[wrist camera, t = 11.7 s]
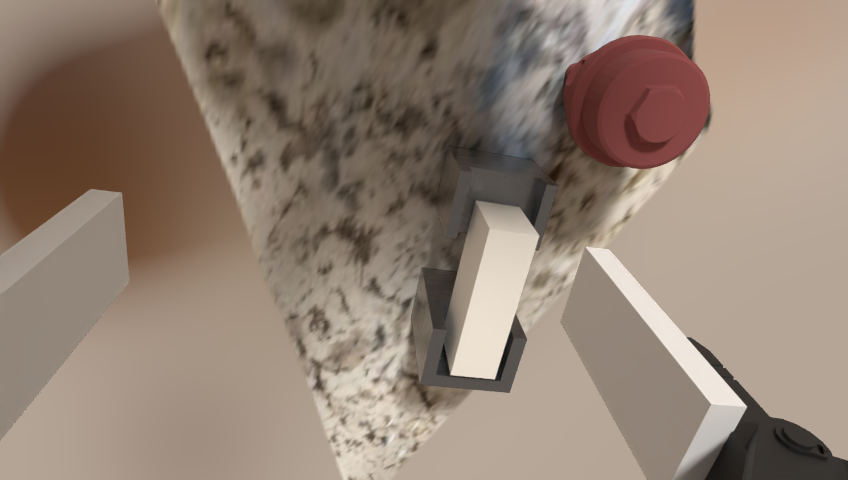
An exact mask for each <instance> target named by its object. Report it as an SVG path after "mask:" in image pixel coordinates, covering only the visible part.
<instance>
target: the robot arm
mask: <svg viewBox="0 0 848 480" xmlns="http://www.w3.org/2000/svg"><path fill="white" fill-rule="evenodd" d="M128 283H129V272H128V261H127V249H126V237H125V225H124V214H123V202H122V193H120V192H111V191H102V190H93V189H90V190H89V191H88V192H86V193H85V194H83V195H82V196H81V197H79V198H78V199H77V200H75V201H74V202H73V203H71V204H70V205H69V206H67V207H66V208H64V209H63V210H62V211H60V212H59V213H58V214H56V215H55V216H54V217H52V218H51V219H49V220H48V221H47V222H45V223H44V224H43V225H41V226H40V227H39V228H37V229H36V230H35V231H33V232H32V233H30V234H29V235H28V236H26V237H25V238H24V239H22V240H21V241H19V242H18V243H17V244H16V245H14V246H13V247H11V248H10V249H9V250H7V251H6V252H5V253H3V254H2V255H0V440H1V439H2V438H3V437H4V435H5V434H6V433H7V432H8V430H9V429H10V428H11V427H12V426H13V424H14V423H15V422H16V421H17V419H18V418H19V417H20V416H21V415H22V413H23V412H24V411H25V410H26V408H27V407H28V406H29V405H30V403H31V402H32V401H33V400H34V398H35V397H36V396H37V395H38V394H39V392H40V391H41V390H42V389H43V387H44V386H45V385H46V384H47V382H48V381H49V380H50V379H51V378H52V376H53V375H54V374H55V373H56V371H57V370H58V369H59V368H60V366H61V365H62V364H63V363H64V362H65V360H66V359H67V358H68V357H69V355H70V354H71V353H72V352H73V350H74V349H75V348H76V347H77V346H78V344H79V343H80V342H81V341H82V339H83V338H84V337H85V336H86V335H87V333H88V332H89V331H90V329H91V328H92V327H93V326H94V325H95V323H96V322H97V321H98V320H99V318H100V317H101V316H102V315H103V314H104V312H105V311H106V310H107V309H108V307H109V306H110V305H111V304H112V303H113V301H114V300H115V299H116V298H117V296H118V295H119V294H120V293H121V291H122V290H123V289H124V288H125V287H126V285H127V284H128ZM561 324H562V326H563V328H564V329H565V331H566V333H567V335H568V337H569V339H570V340H571V342H572V344H573V346H574V348H575V349H576V351H577V353H578V355H579V357H580V359H581V360H582V362H583V364H584V366H585V367H586V369H587V371H588V373H589V375H590V377H591V379H592V380H593V382H594V384H595V386H596V388H597V390H598V391H599V393H600V395H601V397H602V399H603V400H604V402H605V404H606V406H607V408H608V409H609V411H610V413H611V415H612V417H613V419H614V420H615V422H616V424H617V426H618V428H619V430H620V431H621V433H622V435H623V437H624V439H625V441H626V442H627V444H628V446H629V448H630V450H631V451H632V453H633V455H634V457H635V459H636V460H637V462H638V464H639V466H640V468H641V470H642V471H643V473H644V475H645V477H646V479H647V480H848V461H847V460H844V459H840V458H837V457H833V456H832V453H831V451H830V450H829V449H828V448H827V447H826V445H825V444H824V443H823V442H822V441H821V440H819V439H818V438H817V437H816V436H814V435H813V434H812V433H811V432H809V431H807V430H806V429H804V428H802V427H800V426H798V425H797V424H794V423H792V422H789V421H786V420H784V419H779V418H772V417H769V416H768V414H767V413H766V412H765V411H764V410H763V409H762V408H761V407H760V406H759V404H758V403H757V402H756V401H755V400H754V399H753V398H752V397H751V396H750V395H749V394H748V392H747V391H746V390H745V389H744V388H743V387H742V386H741V385H740V384H739V382H738V381H736V380H734V379H733V376H732V375H731V374H730V373H729V372H728V370H727V369H726V368H723V365H722V364H721V363H720V362H719V361H718V359H717V358H716V357H715V356H714V355H713V354H712V353H711V352H710V351H709V350H708V349H706V348H705V347H704V346H702V345H701V344H699V343H698V342H696V341H695V340H693V339H692V338H689V337H685V335H684V334H683V333H682V332H681V331H680V330H679V329H678V327H677V326H676V325H675V324H674V323H673V322H672V321H671V319H670V318H669V317H668V316H667V315H666V314H665V313H664V312H663V310H662V309H661V308H660V307H659V306H658V305H657V304H656V302H655V301H654V300H653V299H652V298H651V297H650V296H649V294H647V292H646V291H645V290H644V289H643V288H642V286H641V285H640V284H639V283H638V282H637V281H636V280H635V279H634V277H633V276H632V275H631V274H630V273H629V272H628V271H627V269H626V268H625V267H624V266H623V265H622V264H621V263H620V262H619V260H618V259H617V258H616V257H615V256H614V255H613V254H612V253H611V251H610V250H609V249H601V248H593V247H585V249H584V252H583V255H582V258H581V261H580V264H579V267H578V270H577V273H576V276H575V279H574V282H573V285H572V288H571V291H570V295H569V297H568V301H567V303H566V307H565V310H564V313H563V316H562V319H561Z"/></svg>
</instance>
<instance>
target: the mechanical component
mask: <svg viewBox="0 0 848 480" xmlns="http://www.w3.org/2000/svg"><path fill="white" fill-rule="evenodd" d="M566 78H567V80H566V82H565V86H564V90H563V102H564V107H565V110H566V120H567V124H568V128H569V131H570V133H571V136H572V138H573V139H574V141H575V143H576V144H577V145H578V146H579V147H580V149H582V150H583V151H584V152H585V153H586V154H588V155H589V156H590V157H592V158H593V159H595V160H596V161H598V162H600V163H603V164H606V165H609V166H615V167H631V168H637V169H647V168H654V167H658V166H661V165H663V164H666V163H668V162H670V161H672V160H674V159H675V158H677V157H678V156H680V155H681V154H682V153H684V152H685V151H686V150H687V149H688V148H689V147H690V146H691V145H692V143H693V142H694V141H695V140H696V138H697V137H698V135H699V134H700V132H701V130H702V128H703V126H704V124H705V122H706V119H707V115H708V111H709V106H710V93H709V86H708V83H707V80H706V78H705V76H704V74H703V72H702V71H701V69H700V68H699V67H698V66H697V65H696V64H695V63H694V62H693V61H691V60H690V59H688V57H687V56H686V55H685V54H684V53H683V51H682V50H681V49H679V48H678V47H677V46H676V45H674V44H672V43H671V42H669V41H667V40H664V39H661V38H657V37H651V36H644V35H633V36H627V37H622V38H619V39H616V40H614V41H611V42H609V43H607V44H606V45H604V46H602V47H601V48H599V49H598V50H597V51H595V52H593V53H591V54H589V55H587V56H585V57H584V58H582V59H581V60H580V61H579V62H578V63H574V64H572V65H570V66H569V67H568V68H567V70H566Z"/></svg>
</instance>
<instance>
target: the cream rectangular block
mask: <svg viewBox="0 0 848 480" xmlns="http://www.w3.org/2000/svg"><path fill="white" fill-rule="evenodd" d="M538 239H539V235H538V233H537V232H536V230H535V229H534V227H533V226H532V224H531V223H530V222H529V220H528V219H527V217H526V216H525V214H524V213H523V211H522V210H521V208H520V207H515V206H509V205H502V204H496V203H489V202H483V201H476V200H475V205H474V209H473V213H472V217H471V221H470V225H469V229H468V233H467V237H466V241H465V245H464V249H463V253H462V257H461V261H460V265H459V269H458V273H457V277H456V281H455V285H454V289H453V293H452V297H451V301H450V305H449V309H448V313H447V317H446V321H445V324H446V329H447V332H446V336H445V340H444V346H445V351H446V356H447V360H448V365H449V370H450V375H454V376H465V377H475V378H485V379H495V377H496V374H497V371H498V368H499V364H500V361H501V358H502V355H503V351H504V348H505V345H506V342H507V339H508V335H509V332H510V329H511V326H512V323H513V319H514V316H515V313H516V310H517V306H518V303H519V300H520V297H521V294H522V290H523V287H524V284H525V281H526V278H527V274H528V271H529V268H530V265H531V262H532V258H533V255H534V252H535V249H536V245H537V242H538Z"/></svg>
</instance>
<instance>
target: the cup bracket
mask: <svg viewBox="0 0 848 480" xmlns="http://www.w3.org/2000/svg"><path fill="white" fill-rule="evenodd" d="M457 273H458V272H453V271H445V270H438V269H430V268H422V269H421V273H420V278H419V282H418V287H417V292H416V296H415V301H414V306H413V310H412V315H411V318H412V326H413V334H414V342H415V350H416V358H417V366H418V374H419V382H420V385H430V386H441V387H452V388H463V389H474V390H485V391H495V392H506V393H509V392H510V390H511V387H512V384H513V381H514V377H515V374H516V371H517V368H518V365H519V362H520V359H521V356H522V353H523V350H524V347H525V344H526V341H527V338H526V336H525V333H524V331H523V329H522V327H521V324H520V322H519V320H518V318H517V316H516V313H515V316H514V319H513V323H512V326H511V329H510V332H509V335H508V339H507V342H506V345H505V348H504V351H503V355H502V358H501V361H500V364H499V368H498V371H497V374H496V377H495V379H485V378H475V377H465V376H454V375H450V370H449V365H448V360H447V356H446V351H445V346H444V340H445V336H446V332H447V329H446V324H445V321H446V317H447V313H448V309H449V305H450V301H451V297H452V293H453V289H454V285H455V281H456V277H457Z"/></svg>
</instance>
